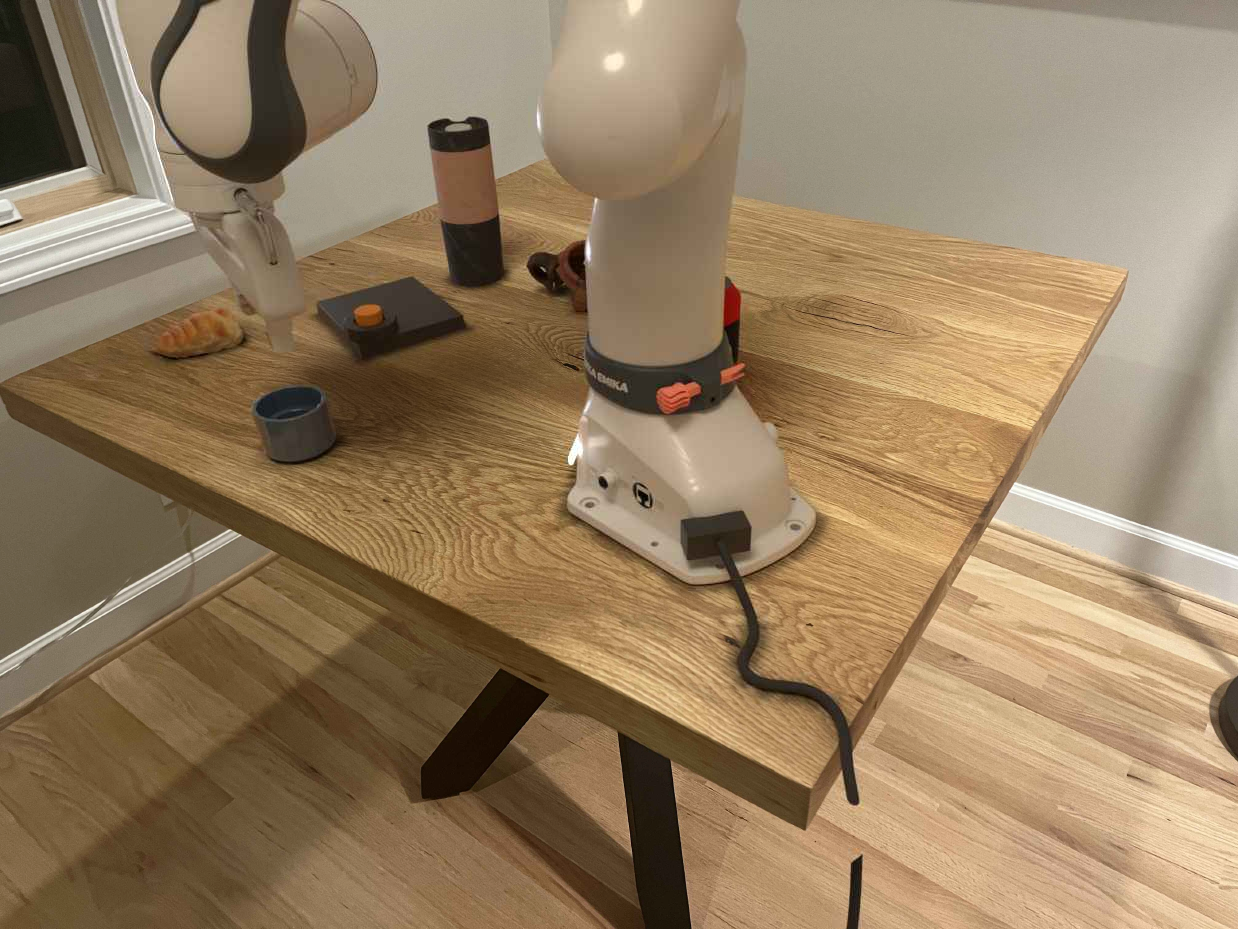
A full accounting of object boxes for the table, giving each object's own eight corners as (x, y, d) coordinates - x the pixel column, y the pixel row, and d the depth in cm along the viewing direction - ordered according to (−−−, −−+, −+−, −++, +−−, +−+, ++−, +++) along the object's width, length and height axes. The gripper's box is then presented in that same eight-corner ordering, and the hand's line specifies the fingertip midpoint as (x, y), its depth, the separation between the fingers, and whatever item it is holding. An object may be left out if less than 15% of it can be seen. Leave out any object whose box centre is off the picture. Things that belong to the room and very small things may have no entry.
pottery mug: (615, 281, 120) (629, 239, 113) (609, 338, 116) (623, 298, 109) (526, 262, 119) (534, 219, 111) (517, 320, 114) (525, 278, 107)
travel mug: (477, 292, 117) (457, 134, 106) (437, 280, 121) (413, 126, 110) (517, 273, 122) (501, 120, 111) (477, 261, 126) (458, 113, 115)
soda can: (677, 412, 91) (678, 303, 85) (655, 377, 97) (654, 273, 91) (747, 400, 93) (753, 292, 86) (721, 367, 99) (725, 263, 92)
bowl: (346, 450, 88) (336, 405, 85) (277, 474, 85) (263, 429, 82) (323, 420, 92) (312, 377, 90) (256, 442, 89) (243, 398, 86)
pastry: (168, 368, 103) (157, 338, 101) (151, 348, 107) (141, 319, 105) (249, 343, 108) (240, 313, 105) (230, 325, 112) (221, 296, 110)
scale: (466, 330, 108) (463, 303, 106) (360, 363, 102) (354, 335, 100) (414, 289, 119) (410, 264, 117) (315, 316, 113) (309, 290, 111)
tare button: (387, 323, 104) (384, 310, 103) (362, 330, 102) (359, 317, 101) (377, 314, 106) (375, 301, 105) (353, 321, 104) (350, 308, 104)
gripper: (304, 200, 68) (341, 363, 76) (231, 142, 82) (269, 285, 90) (218, 218, 65) (266, 386, 73) (158, 155, 79) (203, 301, 87)
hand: (267, 329), depth 81 cm, fingers open, 8 cm apart
